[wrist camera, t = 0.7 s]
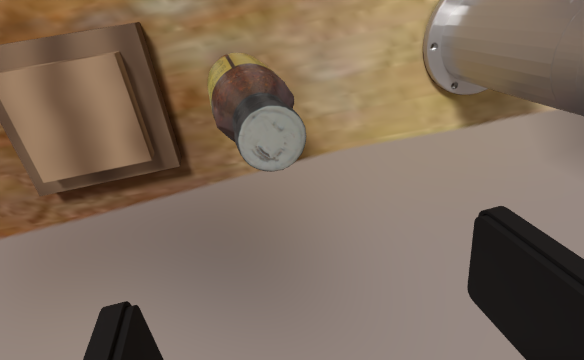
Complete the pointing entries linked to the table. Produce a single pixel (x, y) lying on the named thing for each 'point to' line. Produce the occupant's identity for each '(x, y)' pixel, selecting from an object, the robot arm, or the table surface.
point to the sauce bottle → (256, 112)
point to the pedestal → (85, 108)
